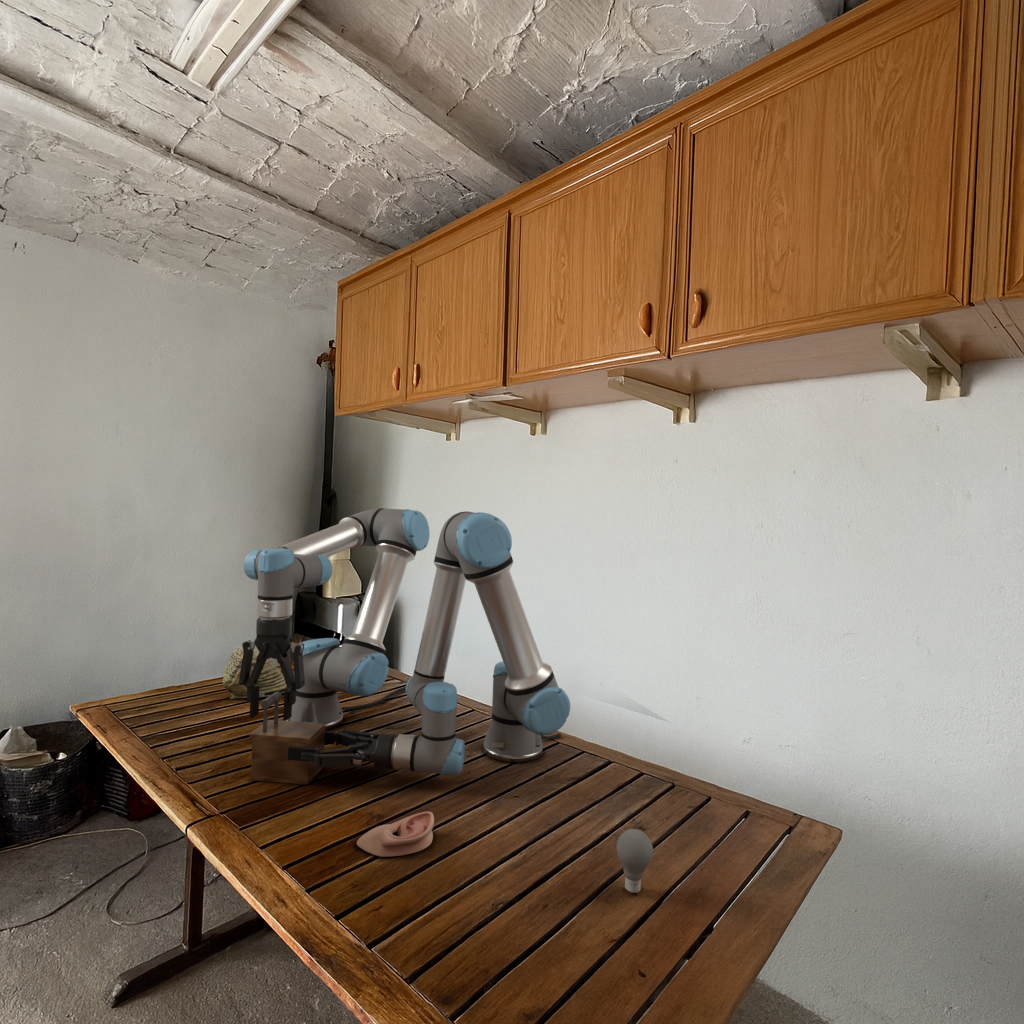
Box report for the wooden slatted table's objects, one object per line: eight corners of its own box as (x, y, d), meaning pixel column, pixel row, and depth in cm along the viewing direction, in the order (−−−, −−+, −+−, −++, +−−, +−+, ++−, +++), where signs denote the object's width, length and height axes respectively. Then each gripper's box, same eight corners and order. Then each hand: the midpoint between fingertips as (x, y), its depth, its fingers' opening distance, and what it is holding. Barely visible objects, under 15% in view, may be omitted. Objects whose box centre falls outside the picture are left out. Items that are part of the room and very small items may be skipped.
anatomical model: (349, 829, 113) (376, 800, 125) (348, 851, 113) (375, 820, 125) (420, 841, 111) (440, 810, 122) (419, 863, 111) (439, 830, 122)
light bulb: (610, 879, 108) (613, 822, 108) (644, 879, 109) (647, 822, 109) (619, 902, 102) (622, 840, 102) (655, 901, 103) (658, 840, 103)
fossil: (218, 695, 195) (220, 647, 195) (278, 685, 208) (279, 640, 207) (228, 703, 189) (230, 653, 188) (289, 692, 201) (290, 645, 201)
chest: (250, 780, 140) (252, 739, 140) (270, 762, 149) (271, 724, 149) (307, 784, 139) (308, 744, 139) (323, 767, 148) (325, 728, 148)
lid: (249, 739, 140) (250, 701, 140) (268, 724, 149) (270, 689, 149) (308, 743, 139) (310, 705, 139) (325, 728, 148) (326, 693, 148)
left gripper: (223, 617, 141) (219, 719, 141) (310, 622, 139) (306, 726, 140) (240, 611, 148) (237, 708, 149) (323, 616, 147) (319, 714, 147)
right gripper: (380, 790, 131) (275, 781, 133) (406, 749, 153) (316, 742, 155) (381, 754, 131) (276, 746, 133) (408, 718, 153) (317, 711, 155)
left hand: (270, 717), depth 144 cm, fingers open, 7 cm apart
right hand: (298, 744), depth 144 cm, fingers closed on chest, 9 cm apart
